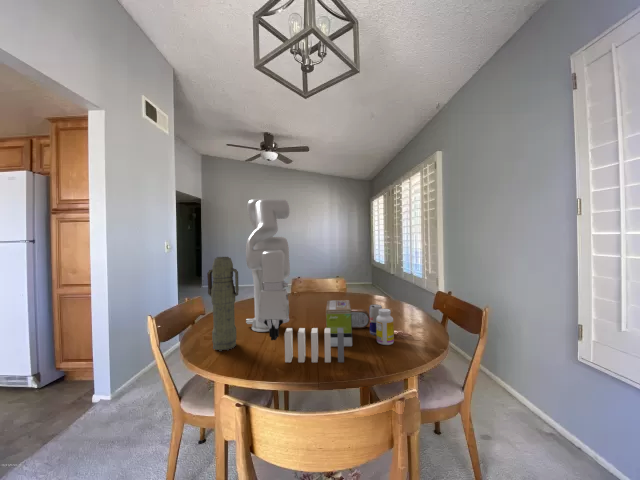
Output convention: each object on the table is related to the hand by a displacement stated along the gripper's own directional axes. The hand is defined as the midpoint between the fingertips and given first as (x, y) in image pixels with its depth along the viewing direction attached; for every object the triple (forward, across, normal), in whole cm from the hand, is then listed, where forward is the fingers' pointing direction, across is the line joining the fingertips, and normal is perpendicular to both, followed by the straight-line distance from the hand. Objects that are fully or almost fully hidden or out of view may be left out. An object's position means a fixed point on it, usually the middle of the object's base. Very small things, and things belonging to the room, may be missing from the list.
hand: (274, 338), depth 98 cm
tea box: (+7, -23, -18) cm, 30 cm away
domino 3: (+7, -14, 0) cm, 16 cm away
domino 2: (+7, -10, 0) cm, 12 cm away
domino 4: (+7, -19, 0) cm, 20 cm away
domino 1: (+7, -5, 0) cm, 9 cm away
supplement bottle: (+7, -41, -15) cm, 44 cm away
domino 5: (+7, -23, 0) cm, 24 cm away
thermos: (+7, +22, -11) cm, 26 cm away
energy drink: (+7, -39, -25) cm, 47 cm away
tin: (+7, -30, -33) cm, 45 cm away
